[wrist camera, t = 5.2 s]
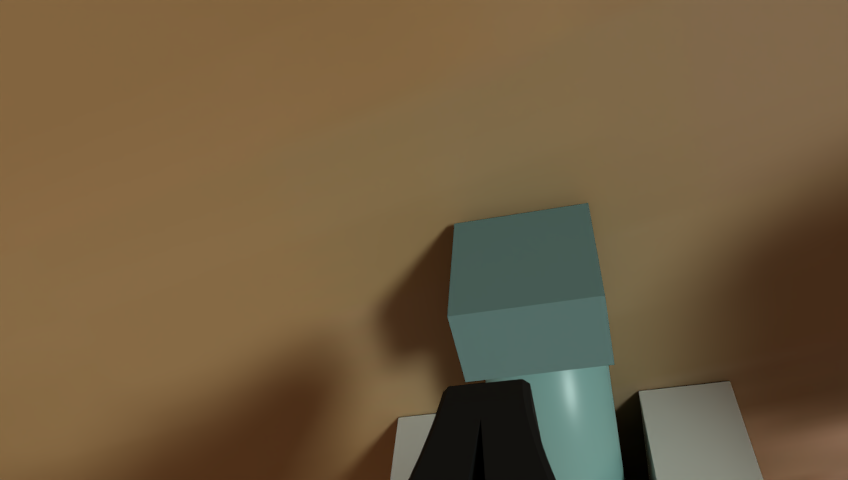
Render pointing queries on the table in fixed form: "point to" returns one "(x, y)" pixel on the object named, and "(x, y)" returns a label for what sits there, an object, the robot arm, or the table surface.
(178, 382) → the table surface
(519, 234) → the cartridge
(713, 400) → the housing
